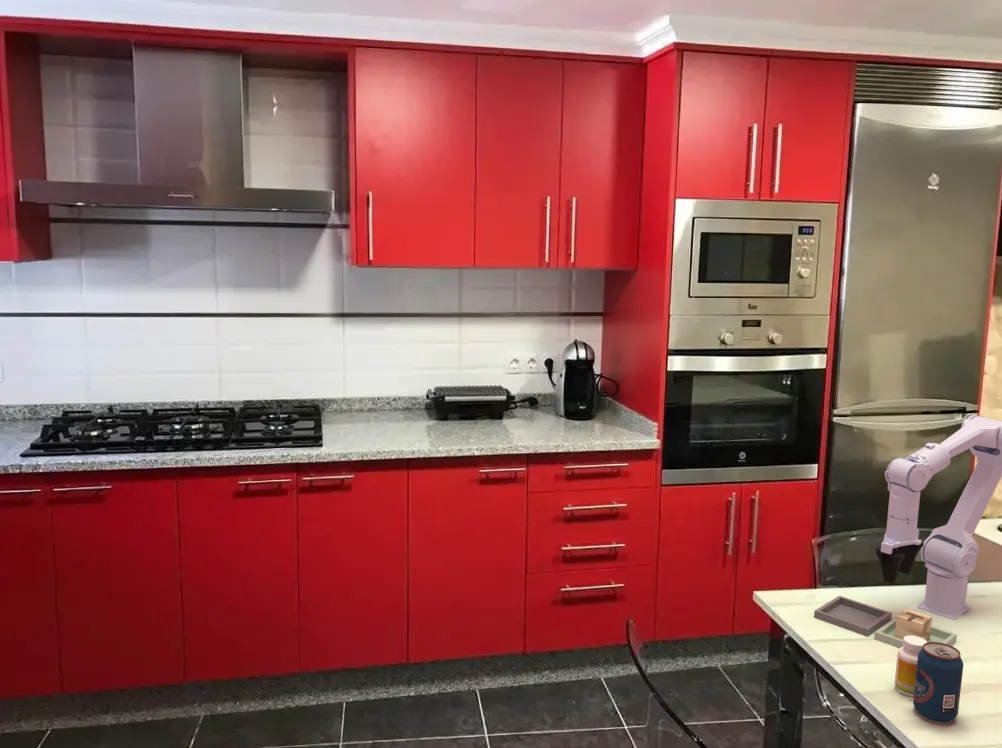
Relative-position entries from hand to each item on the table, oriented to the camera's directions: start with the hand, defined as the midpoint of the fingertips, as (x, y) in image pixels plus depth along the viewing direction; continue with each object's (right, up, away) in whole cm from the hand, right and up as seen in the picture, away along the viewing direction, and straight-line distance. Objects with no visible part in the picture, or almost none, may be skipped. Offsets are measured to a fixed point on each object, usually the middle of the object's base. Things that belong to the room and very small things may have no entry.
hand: (896, 577), depth 179 cm
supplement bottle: (-10, -15, -26) cm, 31 cm away
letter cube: (0, -11, -7) cm, 13 cm away
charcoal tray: (-9, -10, +2) cm, 13 cm away
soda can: (-9, -16, -34) cm, 38 cm away
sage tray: (0, -11, -7) cm, 14 cm away
